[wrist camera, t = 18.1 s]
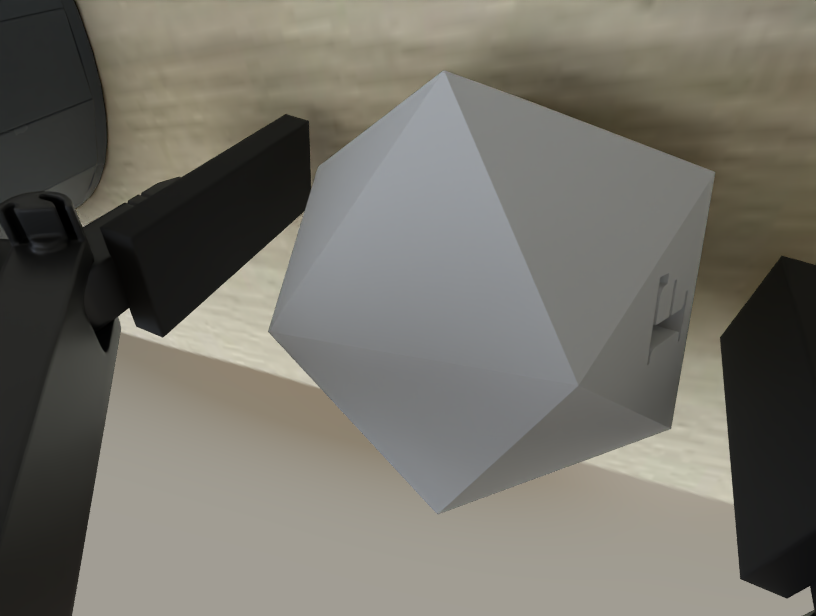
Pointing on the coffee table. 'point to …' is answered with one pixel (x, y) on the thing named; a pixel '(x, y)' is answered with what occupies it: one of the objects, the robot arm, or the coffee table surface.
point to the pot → (48, 102)
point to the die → (494, 288)
